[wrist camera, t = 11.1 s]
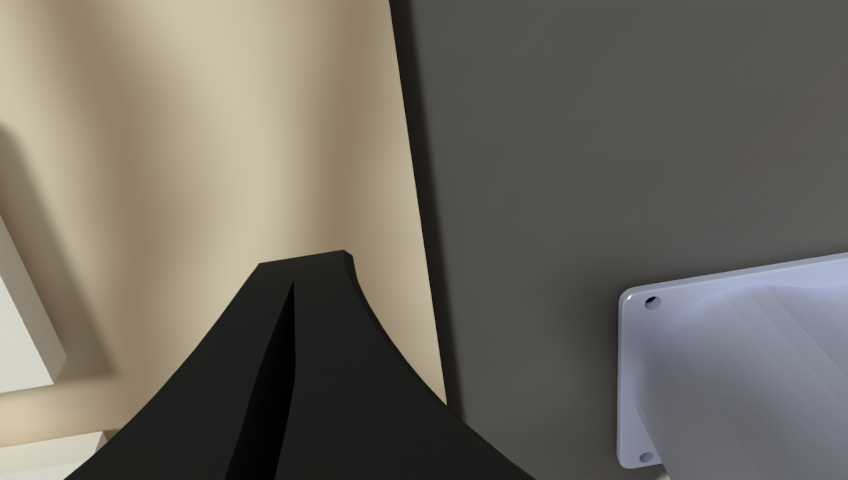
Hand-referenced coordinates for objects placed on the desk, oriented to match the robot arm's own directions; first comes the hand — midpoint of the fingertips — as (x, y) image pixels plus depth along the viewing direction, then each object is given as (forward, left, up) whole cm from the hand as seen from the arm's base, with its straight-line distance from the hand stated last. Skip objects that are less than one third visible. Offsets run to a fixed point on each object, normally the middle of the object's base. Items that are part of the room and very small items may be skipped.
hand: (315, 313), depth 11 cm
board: (+7, +7, -10) cm, 14 cm away
